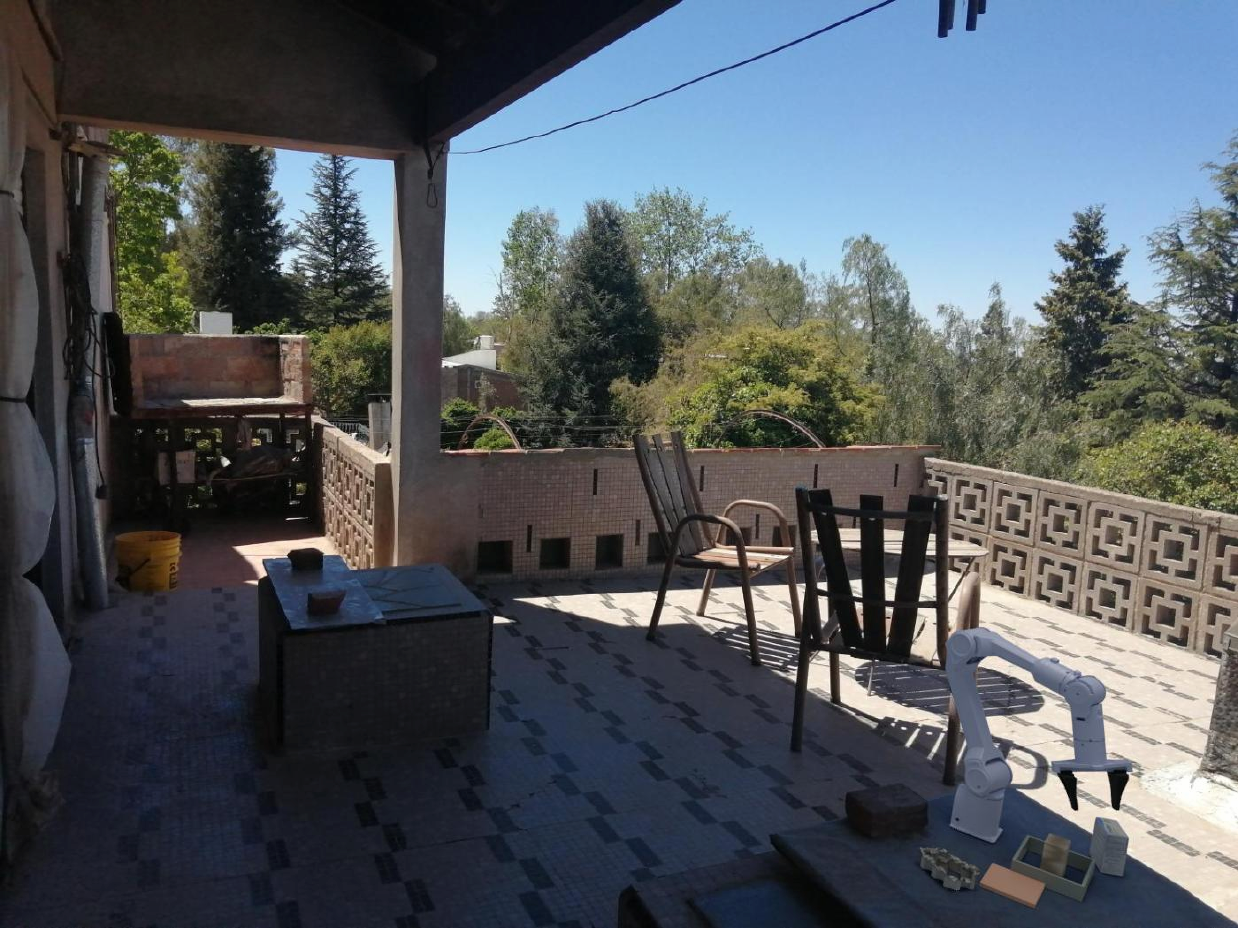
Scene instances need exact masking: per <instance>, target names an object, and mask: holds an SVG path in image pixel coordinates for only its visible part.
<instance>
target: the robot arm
mask: <svg viewBox="0 0 1238 928" xmlns="http://www.w3.org/2000/svg"><path fill="white" fill-rule="evenodd" d="M944 645H945V647H946V649H945V650H946V651H947V652H946V660H945V673H946V677H947V679H948V684H949V686H950V687H949V688H950V691H951V693H952V694H951V695H952V698H953V701H954V704H955V708H956V711H957V715H958V719H959V722H960V726H961V730H962V733H963V736H964V739H965V743H966V747H967V751H966V754H965V756H964V759H963V764H964V768H965V769H964V771H965V772H964V783H965V784H964V783H960V784H958V787H957V789H956V792H955V794H954V795H955V796H954V799H953V805H952V812H951V817H950V823H949V827H950V826H951V827H953V828H952V829H954V828H955V829H954V830H956V829H957V831H958V832H959V831H960V832H962V833H963V834H967V835H969V834H970V836H971V837H972V836H973V837H975V838H978V839H981V840H983V841H985V842H988V843H991V844H995V843H996V842H997V840H998V839H999V838H1000V836H1001V834H1002V833H1003V830H1004V829H1002V828H1001V827H999V826H1000V820H1001V815H1002V811H1003V810H1002V808H1003V803H1004V798H1005V791H1006V788H1007V787H1009V786H1010V785H1011V784H1012V782H1013V778H1014V777H1013V776H1014V775H1013V773H1014V772H1013V770H1012V768H1011V765H1009V763H1008V762H1007V761H1006V759H1005V756H1004V753H1003V752H1002V751H1001V750H1000V749H999V748H998V747H997V746H996V745H995V744H994V742H993V737H992V734H991V731H990V726H989V724H988V720H987V718H986V717H987V716H986V713H985V709H984V707H983V703H982V699H981V697H980V693H979V688H978V686H977V682H976V679H975V676H974V672H975V670H976V669H977V668H978V666H979V665H980V664H981V662H982V661H983V660H985V659H986V658H987V657H998V658H999V659H1002V660H1004V661H1005V662H1008V663H1010V664H1012V665H1014V666H1016V667H1018V668H1020V669H1022V670H1024V671H1027V673H1028V672H1029V673H1030V674H1031V675H1032V678H1033V680H1034V682H1035V683H1037V684H1039V685H1040V686H1042V687H1045V688H1046V689H1048V690H1049V691H1051V692H1054V693H1056V694H1058V695H1059V696H1061V697H1062V698H1064V701H1065V702H1066V703H1067V705H1068V706H1069V707H1070V708H1069V709H1070V715H1071V716H1070V718H1071V728H1072V741H1073V751H1074V758H1072V759H1063V760H1051V761H1050V765H1051V772H1053V774H1054V773H1055V774H1056V775H1057V777H1058V778H1059V780H1060V782H1061V784H1062V785H1063V788H1064V791H1065V792H1066V795H1067V798H1068V802H1069V804H1070V808H1071V810H1073V811H1074V812H1079V801H1078V793H1077V792H1078V789H1077V788H1078V777H1077V776H1075V774H1074V773H1093V772H1094V773H1096V772H1097V773H1099V772H1100V773H1105V772H1106V774H1107V778H1108V784H1109V789H1110V792H1109V793H1110V803H1111V808H1112V809H1113V810H1115V811H1118V812H1119V811H1120V809H1121V802H1122V797H1123V794H1124V791H1125V789H1126V786H1127V784H1128V782H1129V781H1130V774H1128V773H1133V762H1132V761H1130V760H1128V759H1109V758H1108V755H1107V746H1106V735H1105V733H1106V732H1105V723H1104V715H1103V701H1105V699H1106V697H1107V696H1106V695H1107V690H1106V686H1105V684H1104V683H1103V682H1102V680H1100V679H1099V678H1097V677H1096V676H1095V675H1092V674H1087V675H1082V672H1081V671H1080V670H1078V669H1076V670H1075V669H1074V670H1073V669H1072V668H1069V667H1068V666H1065V665H1064V664H1062V663H1060V659H1059V658H1057V657H1048V656H1045V657H1043V658H1038V657H1037V656H1035V655H1033V654H1031V653H1030V652H1028V651H1027V650H1025V649H1024V648H1022V647H1020V646H1019V645H1017V644H1014V643H1013V642H1011V641H1010V640H1008V639H1006V637H1003V636H1002V635H1001V634H999V633H998V632H997V631H994V630H991V629H989V628H987V627H984V626H977V627H975V628H969V629H964V630H963V629H961V630H959V629H958V630H955V631H954V632H953V633H951V634H950V636H949V638H948V639H947V640H946V642H945V644H944ZM951 827H950V828H951Z"/></svg>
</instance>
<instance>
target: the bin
mask: <svg viewBox="0 0 1238 928" xmlns="http://www.w3.org/2000/svg"><path fill="white" fill-rule="evenodd" d="M1045 841H1046V840H1043V839H1041V838H1038V837H1035V836H1033V835H1029V834H1027V835H1026V836H1025V838H1024V840H1023V841H1022V842H1021V844H1020V846H1019V848H1018V849H1017V851H1016V853H1015V854H1014V855H1013V857H1012V859H1011V863H1010V868H1009V869H1010V870H1012V871H1014V872H1017V873H1019V874H1022V875H1024V876H1027V877H1029V878H1032V879H1035V880H1037V881H1040V882H1042V883H1045V884H1046V885H1045V889H1047V890H1050V891H1053V892H1055V893H1058V894H1060V895H1063V896H1065V897H1068V898H1070V899H1072V900H1076V901H1078V902H1080V903H1082V902H1083V900H1084V898H1085V895H1086V893H1087V891H1088V888H1089V886H1090V882H1091V880H1092V878H1093V876H1094V871H1095V866H1096V864H1095V862H1096V860H1095V859H1093V858H1092V857H1091V856H1090V857H1089V856H1086V855H1084V854H1082V853H1079V852H1076V851H1073V850H1070V849H1069V854H1068V859H1067V864H1066V866H1069V867H1072V868H1074V869H1077V870H1080V871H1082V872H1085V876H1084V878H1083V880H1082V883H1081V884H1080V883H1079V882H1075V881H1072V880H1069V879H1067V878H1064V877H1063V878H1062V877H1060V876H1057V875H1054V874H1052V873H1049V872H1047V871H1044V870H1041V869H1040V867H1039V868H1038V867H1035V866H1033V865H1030V864H1028V863H1025V862H1023V861H1022V860H1023V859H1024V857H1025V855H1026V853H1027V852H1028V851H1029V852H1032V853H1034V854H1037V855H1039V856H1042V854H1043V849H1044V843H1045Z"/></svg>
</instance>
